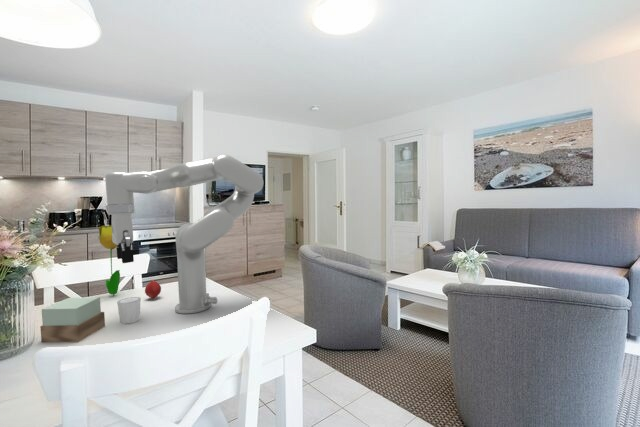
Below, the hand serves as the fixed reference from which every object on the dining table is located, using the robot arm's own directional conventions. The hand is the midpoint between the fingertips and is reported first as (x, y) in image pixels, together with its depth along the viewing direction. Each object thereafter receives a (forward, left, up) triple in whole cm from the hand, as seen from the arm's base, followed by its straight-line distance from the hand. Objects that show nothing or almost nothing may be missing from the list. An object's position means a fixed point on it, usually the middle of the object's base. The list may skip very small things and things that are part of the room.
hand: (125, 260), depth 107 cm
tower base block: (+10, +11, -21) cm, 25 cm away
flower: (+22, -25, -21) cm, 39 cm away
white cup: (-1, +1, -21) cm, 21 cm away
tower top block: (+10, +11, -16) cm, 22 cm away
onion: (+3, -21, -21) cm, 30 cm away
